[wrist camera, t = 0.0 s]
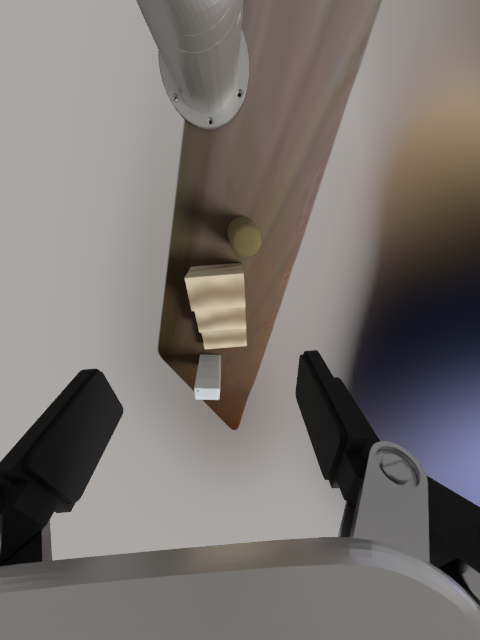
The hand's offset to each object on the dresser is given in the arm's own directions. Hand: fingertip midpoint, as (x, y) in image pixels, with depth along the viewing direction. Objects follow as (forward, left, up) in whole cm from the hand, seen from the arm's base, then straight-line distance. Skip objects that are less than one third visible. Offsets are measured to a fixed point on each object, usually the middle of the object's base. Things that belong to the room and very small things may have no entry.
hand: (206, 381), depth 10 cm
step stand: (+15, -2, -37) cm, 40 cm away
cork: (-2, +4, -37) cm, 37 cm away
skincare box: (+31, -7, -37) cm, 49 cm away
